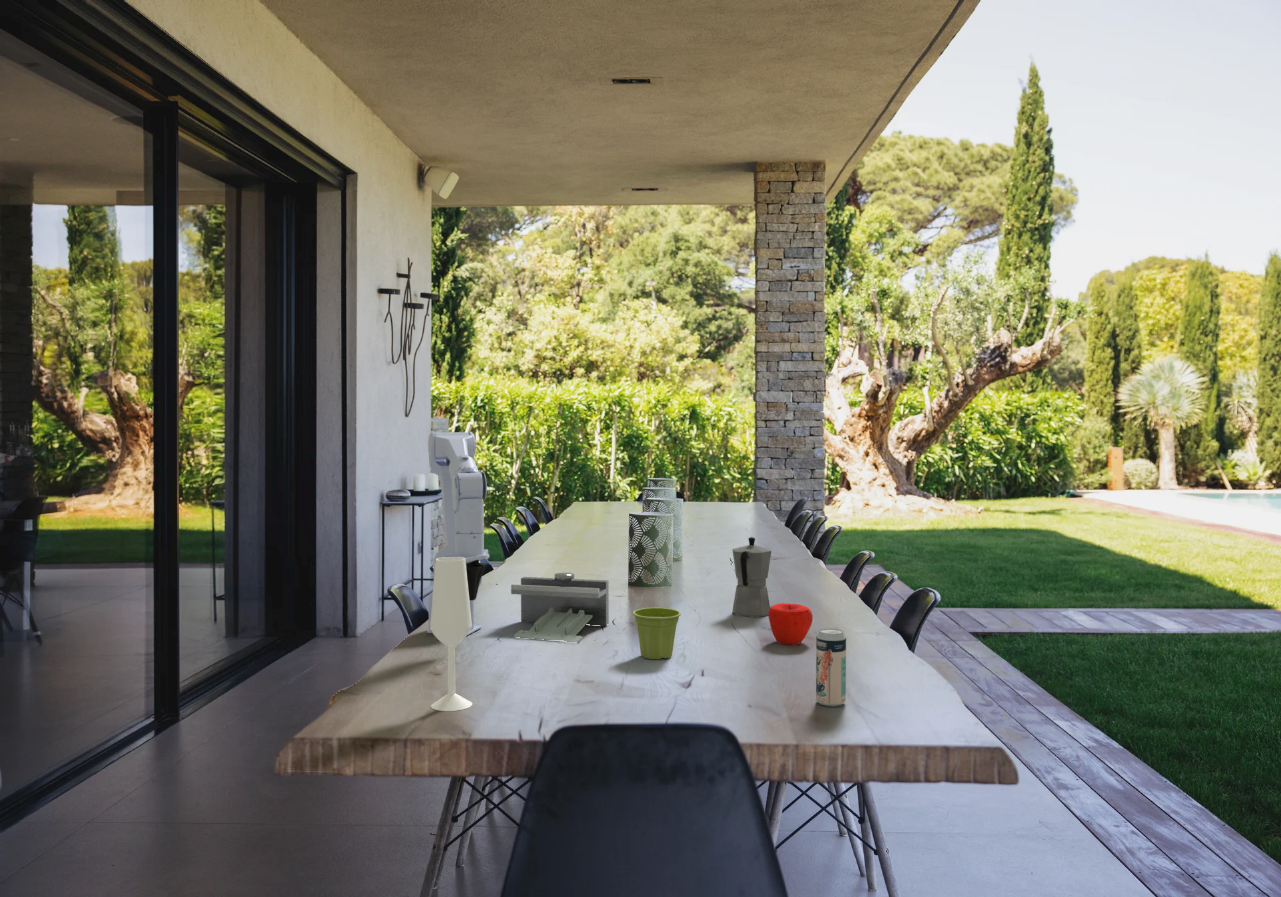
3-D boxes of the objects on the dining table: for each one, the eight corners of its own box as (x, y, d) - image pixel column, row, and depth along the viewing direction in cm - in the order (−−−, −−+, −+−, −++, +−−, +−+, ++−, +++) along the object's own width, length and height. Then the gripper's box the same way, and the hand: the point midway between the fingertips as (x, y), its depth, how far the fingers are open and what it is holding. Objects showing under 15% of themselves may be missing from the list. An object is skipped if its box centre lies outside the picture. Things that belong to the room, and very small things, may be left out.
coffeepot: (738, 606, 249) (739, 533, 248) (777, 609, 245) (777, 534, 245) (722, 619, 234) (722, 541, 233) (762, 621, 231) (763, 542, 230)
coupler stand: (511, 627, 225) (511, 577, 224) (526, 619, 234) (525, 570, 233) (598, 632, 220) (598, 581, 219) (610, 623, 229) (609, 574, 228)
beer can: (812, 699, 169) (813, 628, 169) (840, 699, 170) (841, 627, 169) (820, 708, 165) (820, 634, 164) (849, 707, 165) (849, 634, 165)
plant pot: (686, 652, 202) (686, 609, 202) (672, 664, 193) (672, 618, 193) (642, 649, 205) (642, 606, 205) (626, 660, 196) (626, 615, 196)
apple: (817, 640, 212) (817, 603, 212) (803, 649, 205) (803, 610, 204) (776, 636, 217) (777, 599, 216) (761, 644, 209) (761, 606, 209)
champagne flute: (470, 710, 163) (469, 561, 162) (428, 711, 163) (426, 562, 162) (474, 698, 170) (473, 555, 169) (433, 699, 170) (432, 556, 169)
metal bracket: (540, 601, 226) (601, 606, 220) (544, 625, 228) (605, 630, 222) (509, 632, 214) (572, 638, 208) (513, 656, 216) (576, 663, 210)
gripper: (473, 537, 197) (473, 607, 197) (501, 528, 211) (502, 594, 211) (439, 536, 198) (440, 605, 199) (470, 527, 212) (470, 592, 213)
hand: (469, 599), depth 205 cm, fingers closed
